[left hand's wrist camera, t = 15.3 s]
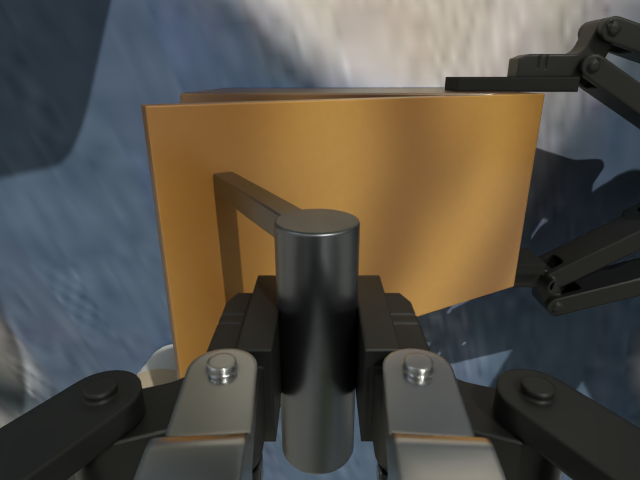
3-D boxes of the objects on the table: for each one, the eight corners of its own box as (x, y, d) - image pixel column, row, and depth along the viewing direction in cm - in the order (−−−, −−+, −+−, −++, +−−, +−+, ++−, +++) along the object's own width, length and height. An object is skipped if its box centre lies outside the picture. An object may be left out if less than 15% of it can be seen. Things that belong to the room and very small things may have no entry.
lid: (177, 378, 17) (255, 574, 11) (140, 104, 14) (222, 131, 7) (501, 280, 26) (664, 355, 19) (529, 92, 22) (742, 100, 15)
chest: (234, 222, 36) (198, 278, 26) (225, 87, 32) (179, 93, 23) (456, 223, 36) (504, 280, 26) (471, 87, 32) (533, 92, 22)
